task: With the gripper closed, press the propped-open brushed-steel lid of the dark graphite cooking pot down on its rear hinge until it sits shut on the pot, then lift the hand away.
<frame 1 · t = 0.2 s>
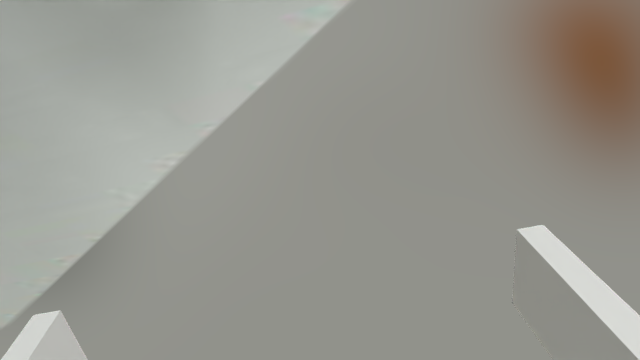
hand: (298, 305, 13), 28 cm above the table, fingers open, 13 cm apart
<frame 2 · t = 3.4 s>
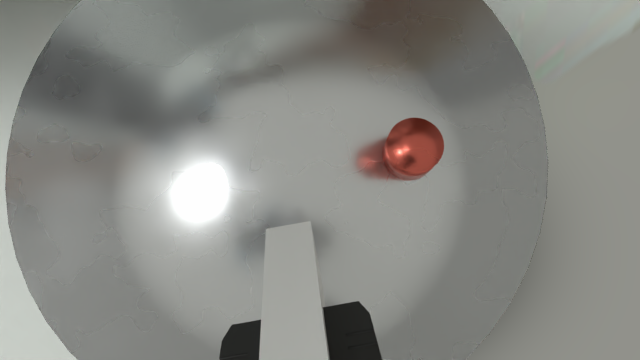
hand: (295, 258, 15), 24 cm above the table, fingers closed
lid: (288, 229, 16), point 22 cm above the table, hinge at 38.9°, touching gripper
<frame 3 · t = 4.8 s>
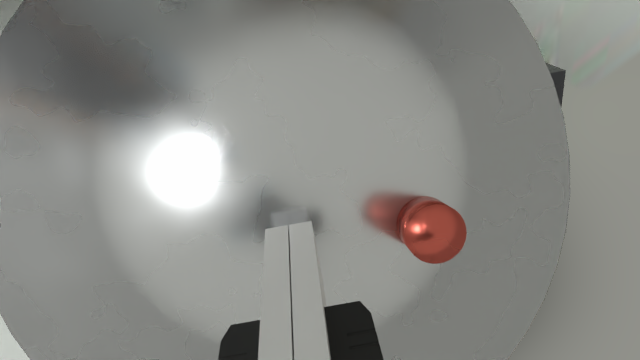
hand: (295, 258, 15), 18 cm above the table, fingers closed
lid: (296, 302, 15), point 18 cm above the table, hinge at 18.5°, touching gripper
pot: (275, 90, 30), on the table
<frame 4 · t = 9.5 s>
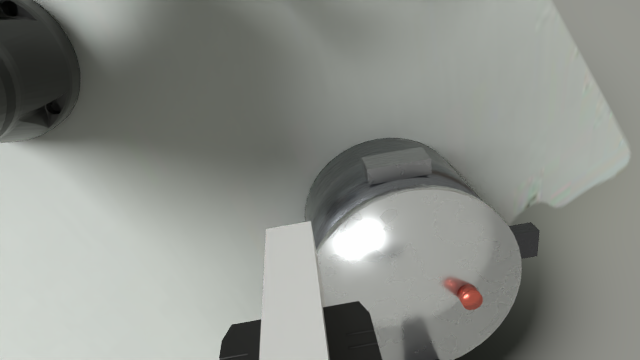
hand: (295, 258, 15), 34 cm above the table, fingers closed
lid: (418, 318, 43), point 15 cm above the table, hinge at 3.6°
pot: (383, 212, 54), on the table
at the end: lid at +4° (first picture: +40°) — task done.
